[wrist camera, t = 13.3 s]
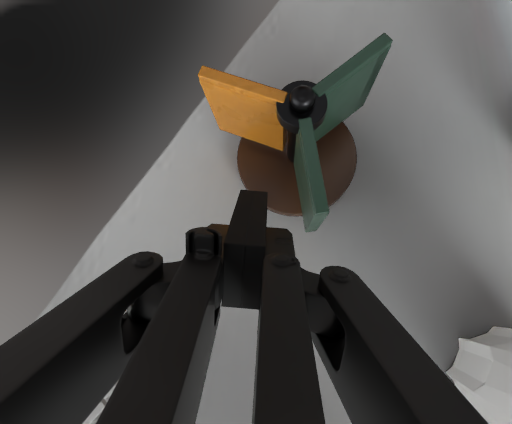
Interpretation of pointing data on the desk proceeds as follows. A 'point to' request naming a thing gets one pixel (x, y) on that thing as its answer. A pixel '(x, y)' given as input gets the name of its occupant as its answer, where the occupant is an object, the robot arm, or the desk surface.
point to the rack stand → (283, 173)
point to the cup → (486, 374)
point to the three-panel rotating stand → (296, 115)
